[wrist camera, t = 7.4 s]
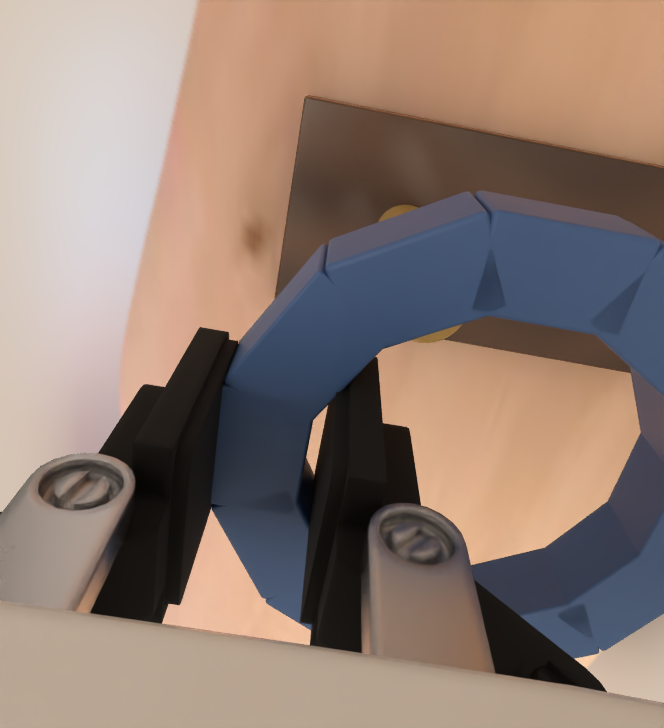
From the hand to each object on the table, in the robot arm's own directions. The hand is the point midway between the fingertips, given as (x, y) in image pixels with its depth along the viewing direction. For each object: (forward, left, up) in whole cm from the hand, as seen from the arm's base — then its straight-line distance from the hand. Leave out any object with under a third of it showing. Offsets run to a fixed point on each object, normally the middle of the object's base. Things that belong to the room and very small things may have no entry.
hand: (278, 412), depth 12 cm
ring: (0, +4, 0) cm, 4 cm away
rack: (0, +8, -17) cm, 19 cm away
